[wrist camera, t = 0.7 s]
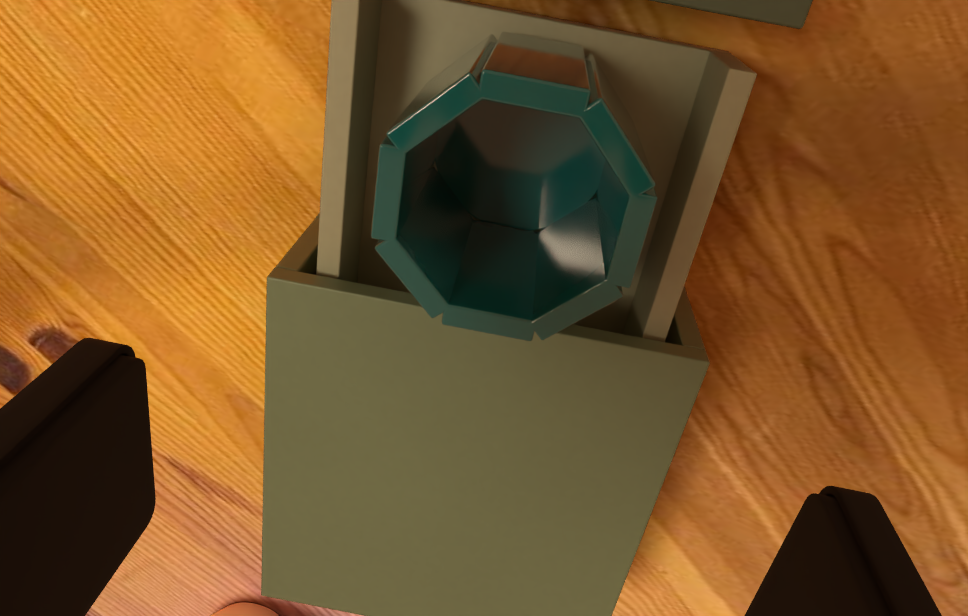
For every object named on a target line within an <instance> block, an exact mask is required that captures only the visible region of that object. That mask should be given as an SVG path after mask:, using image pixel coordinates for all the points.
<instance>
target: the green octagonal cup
mask: <svg viewBox="0 0 968 616" xmlns="http://www.w3.org/2000/svg"><path fill="white" fill-rule="evenodd" d="M386 135H387V136H386V137H385V139H384V140H383V141H382V142H381V144H380V146H379V155H378V165H377V175H376V186H375V196H374V207H373V217H372V228H371V237H372V238H374V239H379V241H378V243H377V245H376V246H375V250H376V251H377V252H378V254H379V255H380V256H381V257H382V258H383V260H384V261H385V262H386V263H387V265H388V266H389V267H390V268H391V269H392V271H393V272H394V273H395V274H396V276H397V277H398V278H399V279H400V280H401V282H402V283H403V284H404V285H405V287H406V288H407V289H408V290H409V291H410V293H411V294H412V295H413V296H414V297H415V299H416V300H417V301H418V302H419V304H420V305H421V306H422V307H423V308H424V310H425V311H426V312H427V313H428V315H429V316H430V317H431V318H435V317H437V316H438V315H440V314H442V313H443V314H442V320H441V322H442V324H443V325H447V326H452V327H458V328H463V329H468V330H473V331H478V332H483V333H489V334H494V335H499V336H504V337H509V338H514V339H520V340H525V341H532V339H533V336H534V332H536V334H537V335H538V336H539V338H540V339H541V340H545V339H546V338H548V337H550V336H552V335H554V334H556V333H557V332H559V331H561V330H563V329H565V328H567V327H568V326H570V325H572V324H574V323H576V322H578V321H579V320H581V319H583V318H585V317H587V316H589V315H591V314H592V313H594V312H596V311H598V310H600V309H602V308H603V307H605V306H607V305H609V304H611V303H613V302H614V301H616V300H618V299H620V298H622V297H623V292H622V287H626V288H630V287H631V285H632V281H633V278H634V275H635V271H636V268H637V265H638V261H639V258H640V255H641V252H642V248H643V245H644V242H645V238H646V235H647V232H648V229H649V225H650V222H651V219H652V215H653V212H654V209H655V205H656V202H657V199H658V198H657V195H656V192H655V189H654V187H655V185H656V184H655V180H654V178H653V175H652V172H651V169H650V166H649V164H648V161H647V158H646V155H645V152H644V150H643V147H642V144H641V141H640V138H639V136H638V133H637V130H636V127H635V124H634V122H633V119H632V118H631V116H630V114H629V113H628V111H627V109H626V108H625V106H624V104H623V103H622V101H621V100H620V98H619V96H618V95H617V93H616V91H615V90H614V88H613V86H612V85H611V83H610V81H609V80H608V78H607V77H606V75H605V73H604V72H603V70H602V68H601V67H600V65H599V63H598V62H597V60H596V59H595V57H594V55H593V54H592V53H590V54H588V55H587V56H585V55H584V50H583V47H581V46H576V45H571V44H566V43H560V42H555V41H550V40H545V39H539V38H534V37H529V36H524V35H519V34H513V33H508V32H502V33H501V35H500V37H499V39H498V40H497V39H496V38H495V36H494V35H493V34H491V35H489V36H488V37H487V38H485V39H484V40H483V41H481V42H480V43H479V44H477V45H476V46H475V47H473V48H472V49H470V50H469V51H468V52H466V53H465V54H464V55H462V56H461V57H460V58H458V59H457V60H456V61H454V62H453V63H452V64H450V65H449V66H448V67H446V68H445V69H444V70H442V71H441V72H440V73H438V74H437V75H436V76H434V77H433V78H432V79H430V80H429V81H428V82H427V83H426V84H425V86H424V87H423V88H422V89H421V91H420V92H419V93H418V94H417V95H416V97H415V98H414V99H413V100H412V102H411V103H410V104H409V105H408V106H407V108H406V109H405V110H404V111H403V113H402V114H401V115H400V116H399V117H398V119H397V120H396V121H395V122H394V124H393V125H392V126H391V127H390V128H389V130H388V131H387V132H386ZM434 162H435V165H436V168H437V170H436V169H435V167H434ZM595 194H596V197H595V198H593V197H594V196H595ZM592 198H593V199H592ZM591 199H592V200H591ZM470 214H471V215H472V216H473V217H475V218H477V219H479V220H480V221H478V220H473V218H472V217H471V216H470ZM543 228H544V229H543ZM539 229H543V230H541V231H539V232H535V231H531V230H539Z"/></svg>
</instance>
